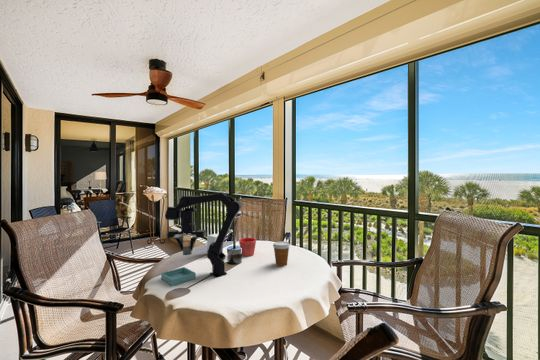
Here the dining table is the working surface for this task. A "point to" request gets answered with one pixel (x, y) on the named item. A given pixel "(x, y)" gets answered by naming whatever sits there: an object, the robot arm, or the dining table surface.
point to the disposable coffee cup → (281, 252)
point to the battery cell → (187, 247)
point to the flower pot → (247, 246)
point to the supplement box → (211, 240)
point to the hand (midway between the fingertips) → (187, 250)
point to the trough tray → (178, 276)
